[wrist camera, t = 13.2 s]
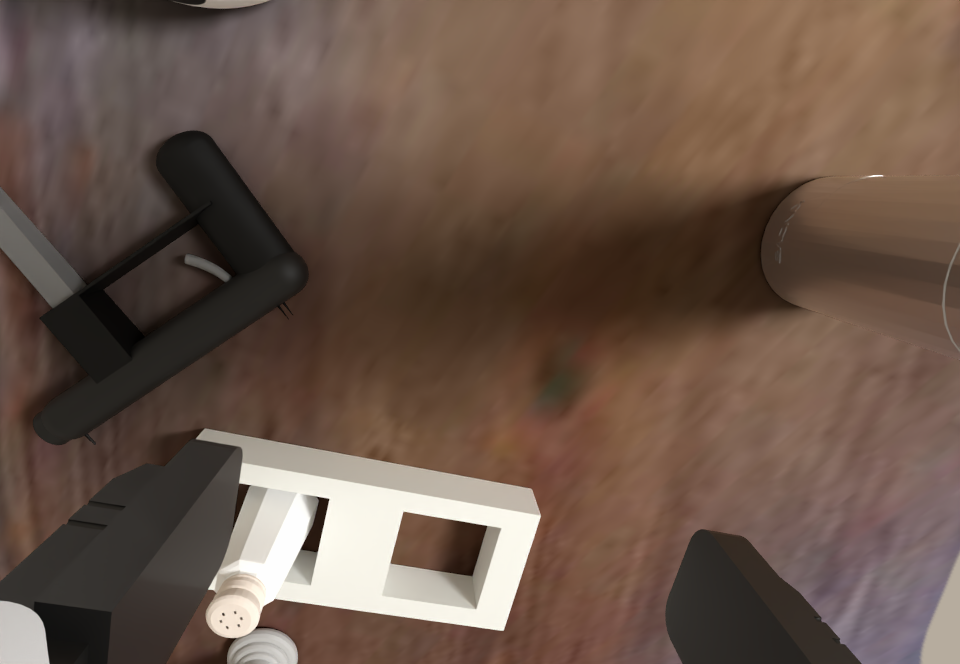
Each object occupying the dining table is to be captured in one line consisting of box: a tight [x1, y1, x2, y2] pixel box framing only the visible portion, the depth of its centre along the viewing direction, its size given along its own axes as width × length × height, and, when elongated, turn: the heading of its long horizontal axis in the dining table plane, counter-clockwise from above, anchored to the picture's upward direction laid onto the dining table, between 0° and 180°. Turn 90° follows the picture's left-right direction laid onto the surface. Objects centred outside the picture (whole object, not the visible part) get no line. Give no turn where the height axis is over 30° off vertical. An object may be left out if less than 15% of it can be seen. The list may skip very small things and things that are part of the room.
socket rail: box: [196, 429, 541, 631], centre depth 39 cm, size 24×10×4 cm, turn 75°
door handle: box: [0, 131, 309, 445], centre depth 34 cm, size 3×20×16 cm
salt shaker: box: [206, 485, 319, 638], centre depth 35 cm, size 5×5×11 cm
